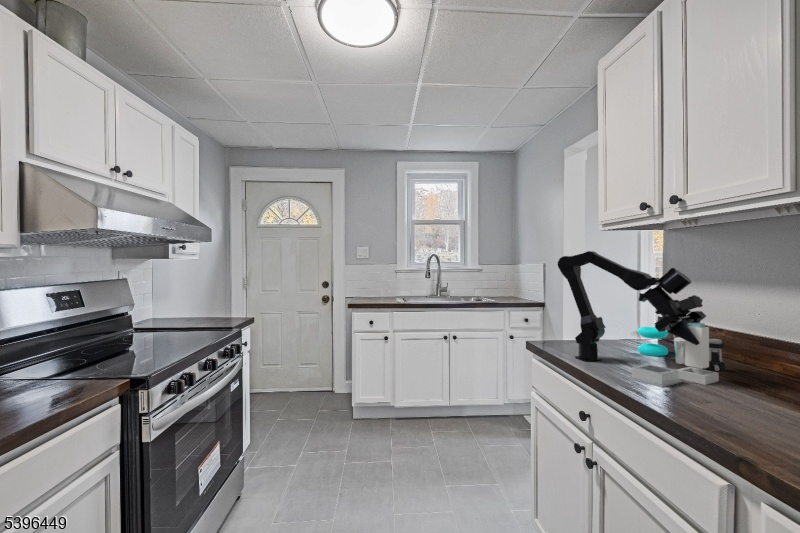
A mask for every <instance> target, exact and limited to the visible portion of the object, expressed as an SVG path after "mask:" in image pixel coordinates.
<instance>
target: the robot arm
mask: <svg viewBox="0 0 800 533" xmlns="http://www.w3.org/2000/svg"><path fill="white" fill-rule="evenodd" d="M588 264H592V265H593V266H596V267H598V268H600V269H601V270H604V271H606V272H607V273H610V274H611V275H613V276H616V277H617V278H619V279H620V280H621V281H622V282H623V283H624V284H626V285H627V286H629V287H630V288H631V289H632V290H635V291H644V290H646V291H645V292H643V293H642V292H641V293H639V294H638V295H639V297H638V302H642V303H645V302H646V301H648V302H649V304H650V305H651V306H652V307H653V309H655V312H654V313H655V314H656V315H661V318H660V319H659V320H657V321H656V322H655V323H654V327H655V328H656V329H657V330H658V331H659V332H664V331H666V330H667V329H666V328H667V327H668V326H669V327H668V328H669V329H668V330H667V331H668V334H671V335H672V336H673V335H674V336H675V337H677V338H678V337H680V338H682V339H684V340H686V341H689V342H691V343H693V344H695V345H698V344H699V341H698V340H697V338H696V337H695V336H694V335H693V333H692V332H691V331H690V329H689V328H688V326H689V323H693V322H695V323H701V321H702V320H704V319H705V318H706V317H707V315H706V314H705V313H704V312H703V311H701V310H694V309H696V308H702V307H703V303H702V302H703V299H702V298H701V297H700V296H697V295H695V294H694V295H691V296H688V297H687V298H684V299H682V300H679V299H673V298H672V296H670V295H672V294H675V295H677V294H678V293H680V292H681V291H682V290H684V289H685V288H686V287H688V286H689V285H690V284H692V280H691V279H690V277H689V276H687V275H686V274H684V273H682V272H681V271H680V270H678V269H676V267H670V269H669V270H668V271H667V272H666V273H664V274H663V275H662V276H661V277H653V276H652V275H650V274H649V273H646V272H644V271H640V270H636V269H631V268H628V267H625V266H623V265H621V264H620V263H617V262H615V261H614V260H611V259H609V258H607V257H605V256H603V255H601V254H599V253H597V252H596V251H593V250H592V251H591V250H589V251H585V252H583V253H579V254H575V255H571V256H570V255H564V256H561V257H560V258H559V259H558V261H557V267H558V269H559V271H560V272H561V274H562V276H563V277H564V278H565V279H566V280H567V282H568V285H569V287H570V291H571V293H572V296H573V298H574V301H575V305H576V307H577V310H578V312H579V315H580V316H579V317H580V323H579V324H580V329H581V332H580V333H579V334H577V335H576V336H575V337H574V339H575V342H576V344H578V355H574V357H575V358H576V359H578V360H581V361H583V362H594V361H595V362H598V361H602V359H601V358H600V357H598V356H599V355H598V352H599V351H598V350H599V349H598V342H599V341H600V338H602V337H603V336H604V334H605V333H606V332H605V331H606V330H605V329H606V328H607V327H606V326H605V324H604V321H603V317H602V316H598V317H597V315H596V314H595V313H594V310H593V307H592V305H591V303H590V300H589V297H588V294H587V291H586V289H585V286H584V282H583V280H582V276H581V275H582V268H581V267H583V266H585V265H588ZM652 286H655V287H653V288H651V287H652ZM669 294H670V295H669ZM691 310H693V311H691ZM665 329H666V330H665Z"/></svg>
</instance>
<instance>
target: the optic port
mask: <svg viewBox="0 0 800 533" xmlns="http://www.w3.org/2000/svg"><path fill="white" fill-rule="evenodd" d="M628 379H629V380H632V381H636V382H640V383H644V384H646V385H652V386H655V387H658V388H666V387H669V386H670V387H671V386H674V385H678V384H681V383H683V380H682V379H679V371H678V370H677V369H674V368H668V367H664V366H661V365H660V366H659V365H654V364H650V363H646V364H641V365H637V366H632V367H631V376H628Z"/></svg>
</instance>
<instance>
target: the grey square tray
mask: <svg viewBox="0 0 800 533" xmlns="http://www.w3.org/2000/svg"><path fill="white" fill-rule="evenodd" d="M676 370H678V371H679V380H681V381H687V382H691V383H695V384H696V383H697V384H700V385H704V386H706V385H710V384H713V383H718V382H719V380H720V378H719V377H720V374H719V372H717V371H713V370H707V369H701V368H696V367H691V366H686V367H682V368H678V369H676Z"/></svg>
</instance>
